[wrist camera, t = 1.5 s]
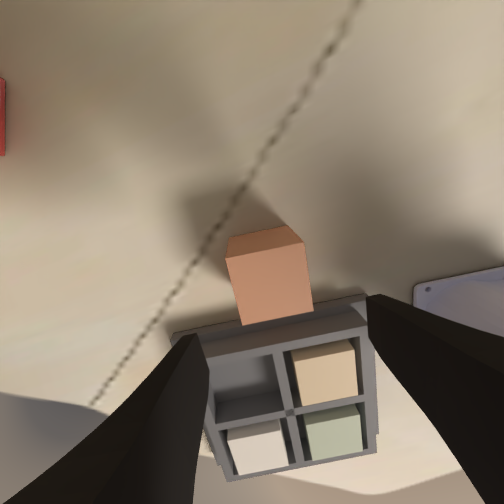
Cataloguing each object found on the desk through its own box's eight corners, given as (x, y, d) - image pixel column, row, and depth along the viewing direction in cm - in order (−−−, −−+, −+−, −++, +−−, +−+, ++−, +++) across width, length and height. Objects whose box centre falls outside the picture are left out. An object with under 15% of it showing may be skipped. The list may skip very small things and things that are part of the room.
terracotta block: (287, 225, 18) (304, 242, 13) (295, 278, 20) (313, 310, 15) (229, 237, 18) (225, 258, 13) (241, 289, 20) (242, 325, 15)
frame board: (365, 293, 20) (390, 316, 17) (373, 424, 25) (394, 461, 22) (173, 333, 20) (160, 363, 17) (218, 454, 25) (215, 496, 22)
